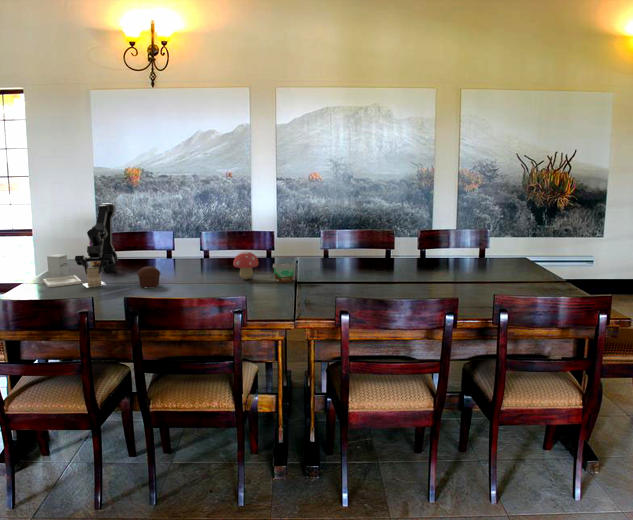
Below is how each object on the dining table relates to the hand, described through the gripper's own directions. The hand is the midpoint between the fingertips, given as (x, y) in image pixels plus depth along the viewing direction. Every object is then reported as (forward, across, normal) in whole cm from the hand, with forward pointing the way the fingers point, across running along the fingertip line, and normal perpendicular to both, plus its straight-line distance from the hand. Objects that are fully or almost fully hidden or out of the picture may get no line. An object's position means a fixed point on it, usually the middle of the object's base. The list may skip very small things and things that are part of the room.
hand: (92, 273), depth 293 cm
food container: (+8, +98, +2) cm, 99 cm away
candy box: (-36, -12, +45) cm, 59 cm away
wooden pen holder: (+3, 0, +5) cm, 6 cm away
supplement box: (-11, -24, +21) cm, 34 cm away
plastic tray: (-1, -18, +10) cm, 21 cm away
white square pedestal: (+4, 0, +6) cm, 7 cm away
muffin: (+8, +29, +2) cm, 30 cm away
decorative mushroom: (+1, +78, +8) cm, 78 cm away
